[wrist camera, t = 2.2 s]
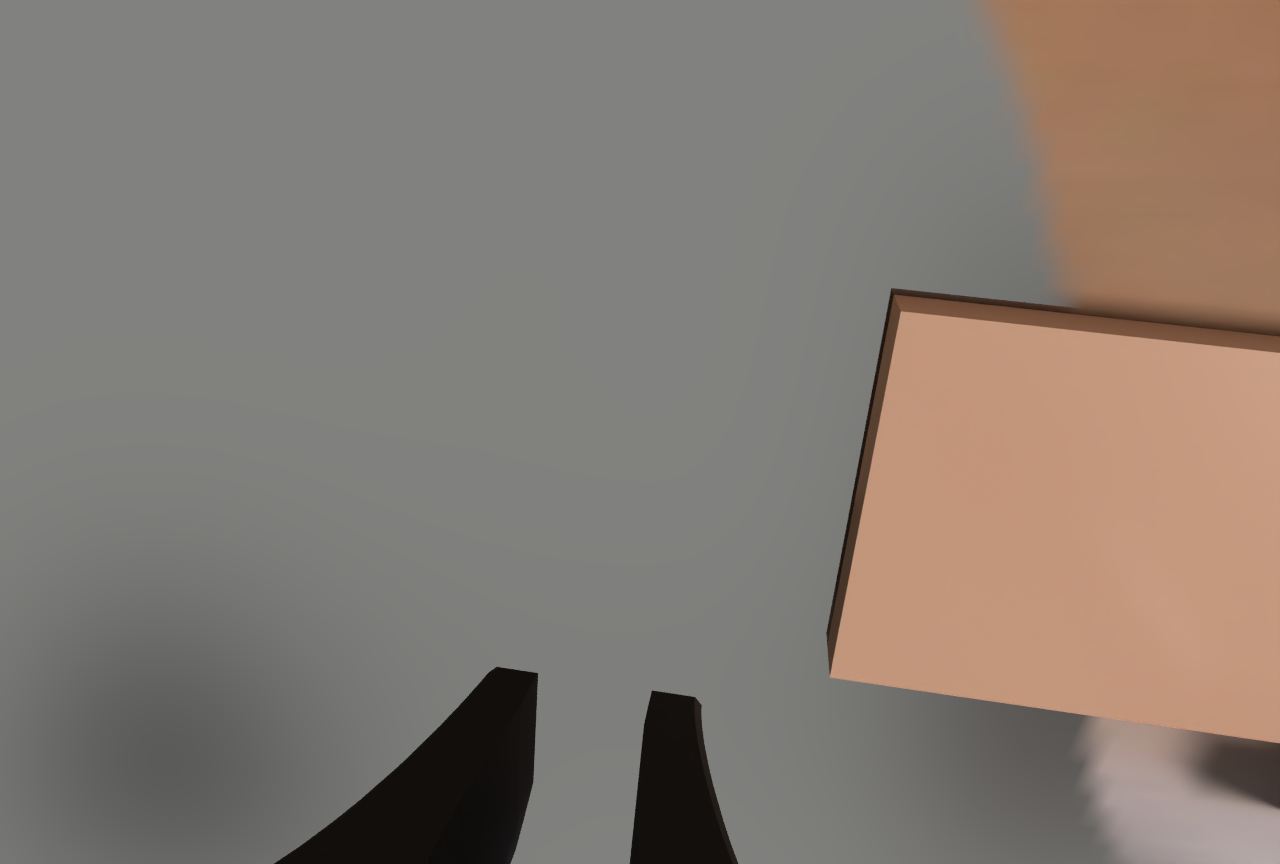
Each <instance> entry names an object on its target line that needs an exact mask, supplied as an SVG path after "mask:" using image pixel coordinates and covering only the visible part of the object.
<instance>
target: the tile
mask: <svg viewBox="0 0 1280 864" xmlns="http://www.w3.org/2000/svg"><path fill="white" fill-rule="evenodd" d="M826 635H827V648H828V661H829V675H830V678H837V679H845V680H850V681H858V682H864V683H871V684H878V685H885V686H892V687H899V688H905V689H912V690H919V691H926V692H933V693H939V694H946V695H954V696H960V697H967V698H974V699H980V700H988V701H995V702H1002V703H1008V704H1015V705H1022V706H1028V707H1035V708H1042V709H1050V710H1056V711H1062V712H1069V713H1076V714H1083V715H1090V716H1097V717H1104V718H1110V719H1117V720H1124V721H1131V722H1138V723H1145V724H1151V725H1158V726H1165V727H1172V728H1179V729H1186V730H1192V731H1199V732H1206V733H1213V734H1220V735H1227V736H1233V737H1240V738H1247V739H1254V740H1261V741H1268V742H1274V743H1280V336H1272V335H1263V334H1253V333H1244V332H1235V331H1226V330H1216V329H1207V328H1198V327H1189V326H1179V325H1170V324H1161V323H1152V322H1142V321H1133V320H1124V319H1115V318H1106V317H1096V316H1087V315H1078V314H1069V313H1068V307H1063V306H1054V305H1044V304H1035V303H1026V302H1017V301H1007V300H998V299H989V298H979V297H970V296H961V295H950V294H942V293H933V292H924V291H915V290H914V291H913V290H905V289H895V288H891V292H890V298H889V303H888V308H887V313H886V319H885V324H884V330H883V335H882V340H881V345H880V351H879V356H878V361H877V366H876V372H875V377H874V382H873V388H872V393H871V399H870V404H869V410H868V414H867V420H866V425H865V431H864V436H863V441H862V447H861V451H860V457H859V462H858V468H857V473H856V478H855V483H854V489H853V494H852V500H851V505H850V510H849V515H848V521H847V526H846V531H845V537H844V542H843V547H842V553H841V558H840V563H839V568H838V574H837V579H836V584H835V590H834V595H833V600H832V606H831V611H830V616H829V621H828V627H827V632H826Z"/></svg>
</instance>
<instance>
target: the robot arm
mask: <svg viewBox="0 0 1280 864" xmlns="http://www.w3.org/2000/svg"><path fill="white" fill-rule="evenodd" d="M537 684H538V673H533V672H526V671H520V670H514V669H507V668H500V667H496V668H495V669H493V670H492V671H490V672H489V673H488V674H487V675H486V676H485V678H484V679H483V680H482V681H481V682H480V683H479V684H478V686H477V687H476V688H475V689H474V690H473V691H472V692H471V693H470V695H469V696H468V697H467V698H466V699H465V700H464V701H463V702H462V703H461V704H460V705H459V707H458V708H457V709H456V710H455V711H454V712H453V713H452V714H451V715H450V716H449V717H448V718H447V719H446V720H445V721H444V722H443V723H442V725H441V726H440V727H438V728H437V729H436V731H434V732H433V733H432V734H431V735H430V736H429V737H428V738H427V739H426V740H425V741H424V742H423V743H422V744H421V745H420V746H419V747H418V748H417V749H416V750H415V751H414V752H413V753H412V754H411V755H410V756H409V757H408V758H407V759H406V760H405V761H404V762H403V763H402V764H400V765H399V766H398V767H397V768H396V769H395V770H394V771H393V772H392V773H390V774H389V775H388V776H387V777H386V778H385V779H384V780H382V781H381V782H380V783H379V784H378V785H377V786H375V787H374V788H373V789H372V790H371V791H370V792H369V793H368V794H366V795H365V796H364V797H363V798H362V799H361V800H360V801H358V802H357V803H356V804H355V805H353V806H352V807H351V808H350V809H348V810H347V811H346V812H345V813H343V814H342V815H341V816H340V817H338V818H337V819H336V820H335V821H333V822H332V823H331V824H329V825H328V826H327V827H325V828H324V829H323V830H321V831H320V832H319V833H317V834H316V835H315V836H313V837H312V838H311V839H309V840H308V841H307V842H305V843H304V844H302V845H301V846H300V847H298V848H297V849H295V850H294V851H292V852H291V853H289V854H288V855H287V856H285V857H283V858H282V859H281V860H279V861H277V862H276V863H274V864H510V863H511V860H512V858H513V855H514V852H515V850H516V846H517V842H518V839H519V835H520V831H521V828H522V824H523V820H524V816H525V812H526V808H527V804H528V801H529V797H530V793H531V789H532V785H533V775H534V753H535V728H536V706H537ZM630 864H738V862H737V859H736V857H735V854H734V851H733V848H732V846H731V843H730V840H729V837H728V834H727V831H726V828H725V825H724V822H723V818H722V815H721V811H720V808H719V804H718V801H717V797H716V794H715V790H714V787H713V783H712V779H711V774H710V770H709V766H708V761H707V756H706V751H705V745H704V739H703V731H702V720H701V704H700V703H699V701H698V700H697V699H696V698H695V697H691V696H684V695H678V694H671V693H665V692H658V691H652V693H651V697H650V701H649V705H648V710H647V714H646V719H645V724H644V732H643V741H642V751H641V761H640V770H639V780H638V790H637V800H636V809H635V819H634V829H633V838H632V848H631V858H630Z"/></svg>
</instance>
